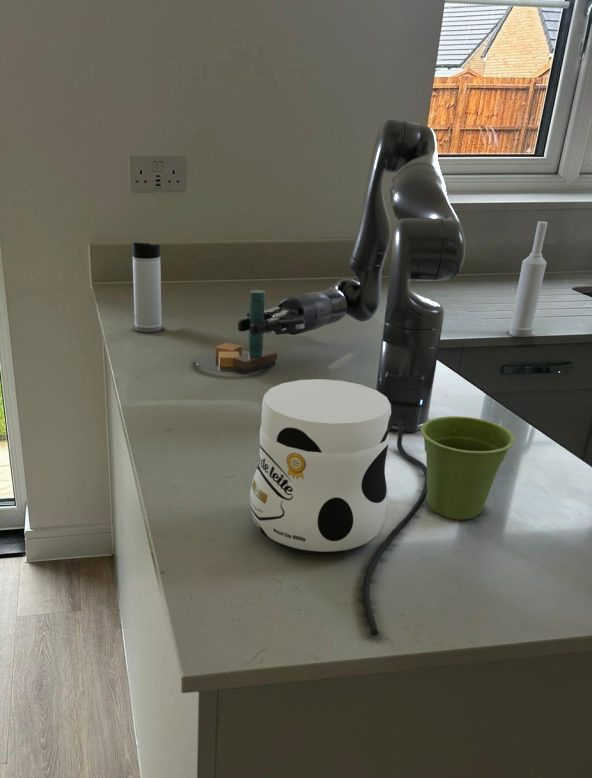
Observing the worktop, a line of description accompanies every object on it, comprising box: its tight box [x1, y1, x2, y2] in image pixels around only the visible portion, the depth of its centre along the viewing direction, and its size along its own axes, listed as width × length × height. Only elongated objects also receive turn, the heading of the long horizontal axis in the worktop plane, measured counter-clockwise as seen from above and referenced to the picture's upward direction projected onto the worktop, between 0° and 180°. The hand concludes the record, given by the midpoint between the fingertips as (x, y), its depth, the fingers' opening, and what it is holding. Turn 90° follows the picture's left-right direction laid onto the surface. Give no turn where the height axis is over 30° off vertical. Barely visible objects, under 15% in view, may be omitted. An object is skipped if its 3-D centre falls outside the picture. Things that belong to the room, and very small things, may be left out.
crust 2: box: [219, 352, 239, 367], centre depth 158 cm, size 4×4×2 cm
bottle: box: [508, 221, 548, 338], centre depth 178 cm, size 5×5×25 cm
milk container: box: [249, 378, 391, 555], centre depth 98 cm, size 17×17×18 cm
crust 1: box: [215, 342, 243, 357], centre depth 163 cm, size 4×4×2 cm
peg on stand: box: [233, 289, 278, 374], centre depth 153 cm, size 9×4×15 cm, turn 133°
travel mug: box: [132, 241, 163, 334], centre depth 180 cm, size 6×7×20 cm
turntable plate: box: [194, 349, 248, 373], centre depth 161 cm, size 15×15×1 cm
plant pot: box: [420, 415, 516, 521], centre depth 105 cm, size 12×12×11 cm
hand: (246, 327), depth 151 cm, fingers closed on peg on stand, 3 cm apart
